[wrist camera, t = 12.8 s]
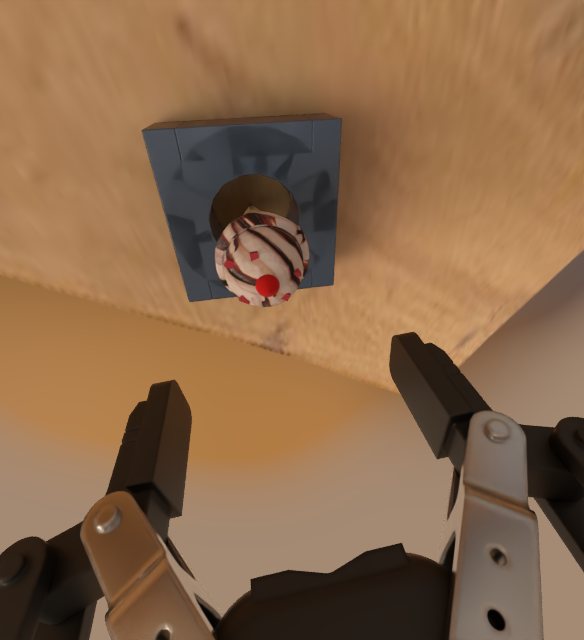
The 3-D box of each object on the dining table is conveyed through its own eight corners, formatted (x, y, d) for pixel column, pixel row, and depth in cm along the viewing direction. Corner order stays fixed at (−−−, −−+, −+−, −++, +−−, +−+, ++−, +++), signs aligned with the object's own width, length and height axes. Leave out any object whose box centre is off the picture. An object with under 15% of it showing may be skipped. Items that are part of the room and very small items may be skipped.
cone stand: (325, 113, 25) (342, 118, 21) (321, 263, 33) (333, 285, 29) (153, 122, 23) (141, 129, 20) (193, 277, 31) (189, 302, 28)
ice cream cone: (294, 190, 28) (345, 268, 16) (265, 245, 30) (290, 348, 19) (233, 156, 25) (241, 219, 14) (208, 219, 28) (194, 318, 16)
